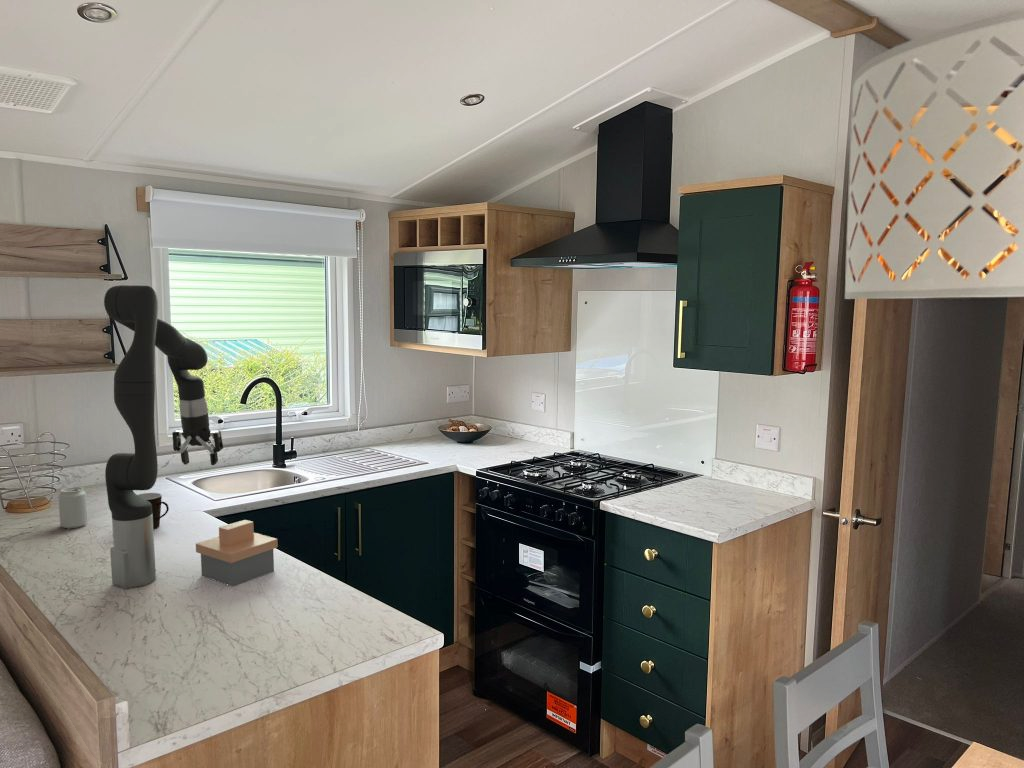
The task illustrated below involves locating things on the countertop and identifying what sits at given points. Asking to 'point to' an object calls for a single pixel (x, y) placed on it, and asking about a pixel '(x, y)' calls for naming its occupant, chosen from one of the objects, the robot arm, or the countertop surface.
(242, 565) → the storage box
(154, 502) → the coffee mug
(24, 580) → the countertop surface
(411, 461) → the countertop surface
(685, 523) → the countertop surface
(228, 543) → the lid
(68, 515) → the can
